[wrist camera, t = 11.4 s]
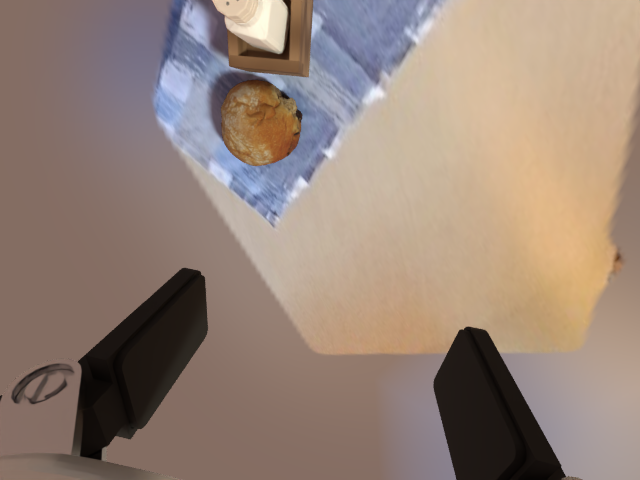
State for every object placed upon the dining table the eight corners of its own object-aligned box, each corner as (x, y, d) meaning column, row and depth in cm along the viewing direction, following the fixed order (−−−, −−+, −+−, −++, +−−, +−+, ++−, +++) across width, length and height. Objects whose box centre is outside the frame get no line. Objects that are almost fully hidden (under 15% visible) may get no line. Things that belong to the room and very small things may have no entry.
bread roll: (247, 83, 38) (196, 80, 32) (308, 79, 33) (260, 74, 27) (256, 157, 42) (212, 166, 36) (310, 163, 37) (269, 176, 31)
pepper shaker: (256, 0, 28) (205, -54, 19) (293, 11, 28) (259, -39, 19) (250, 46, 30) (201, 15, 21) (285, 56, 29) (250, 29, 21)
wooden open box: (248, -6, 31) (224, -29, 25) (313, -1, 30) (302, -23, 25) (250, 71, 34) (229, 66, 29) (308, 77, 33) (298, 72, 28)
